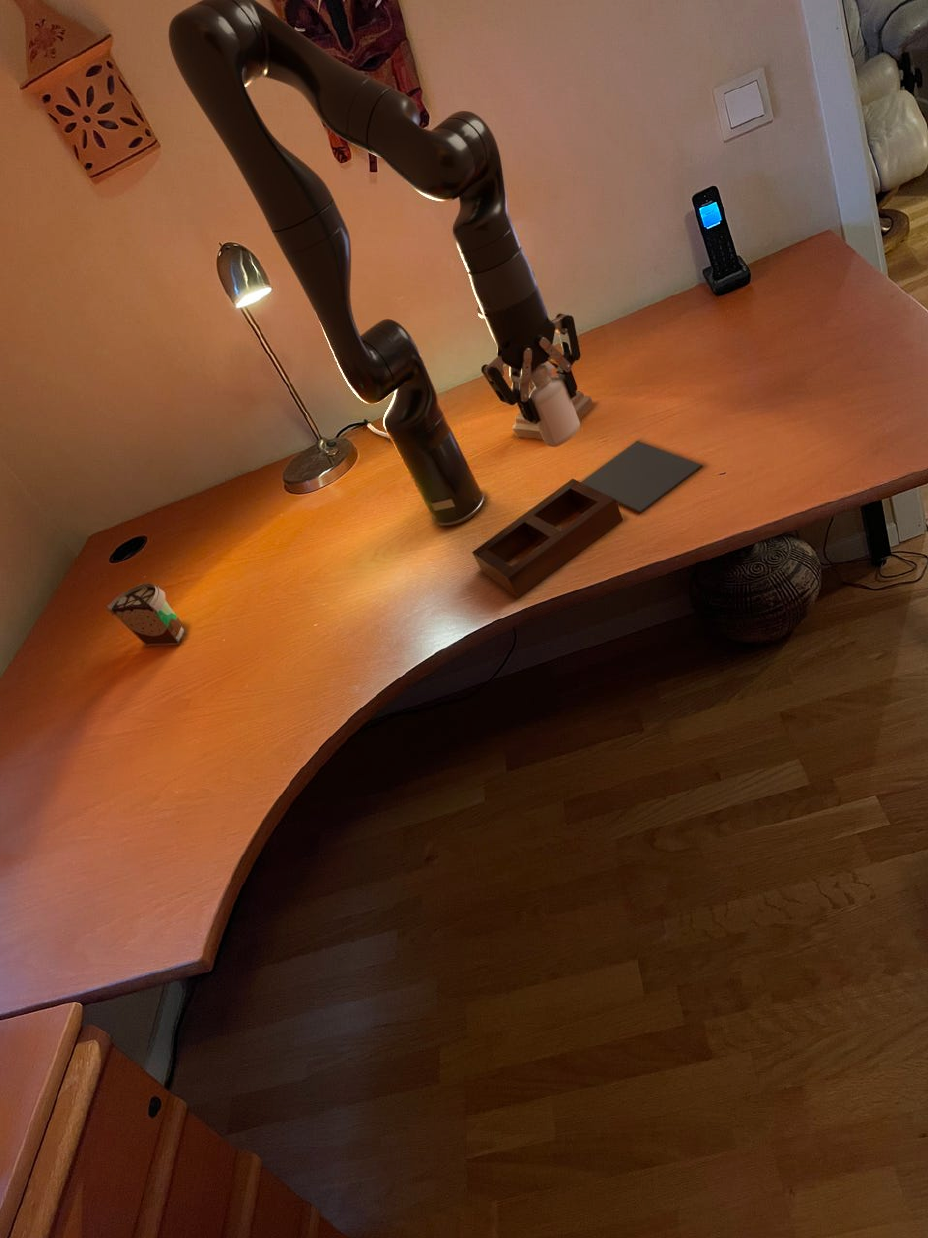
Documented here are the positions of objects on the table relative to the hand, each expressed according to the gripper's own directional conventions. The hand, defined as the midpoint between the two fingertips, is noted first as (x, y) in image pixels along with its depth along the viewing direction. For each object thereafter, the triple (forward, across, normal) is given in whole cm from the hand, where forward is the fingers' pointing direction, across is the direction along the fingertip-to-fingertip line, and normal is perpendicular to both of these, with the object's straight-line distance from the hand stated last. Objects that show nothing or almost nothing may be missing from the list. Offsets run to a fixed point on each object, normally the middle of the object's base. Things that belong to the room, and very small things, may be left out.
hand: (552, 408), depth 113 cm
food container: (+19, +64, -47) cm, 82 cm away
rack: (+18, +8, 0) cm, 20 cm away
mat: (+18, -10, -1) cm, 21 cm away
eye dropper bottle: (+5, 0, 0) cm, 5 cm away
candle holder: (+19, -13, -30) cm, 38 cm away
